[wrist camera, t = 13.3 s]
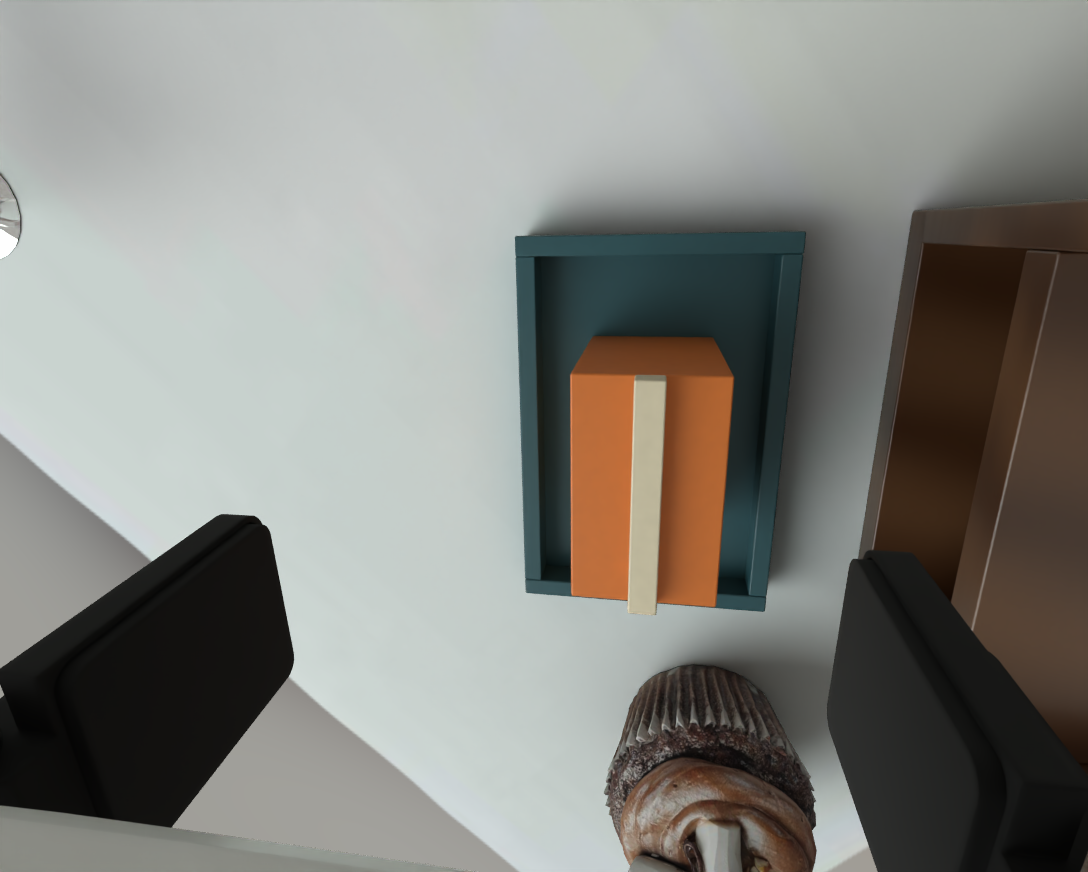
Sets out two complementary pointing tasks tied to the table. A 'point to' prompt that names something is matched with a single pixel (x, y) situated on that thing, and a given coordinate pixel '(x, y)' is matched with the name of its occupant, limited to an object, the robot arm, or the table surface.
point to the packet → (649, 469)
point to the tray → (658, 311)
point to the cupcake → (709, 779)
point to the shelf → (996, 438)
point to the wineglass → (8, 219)
